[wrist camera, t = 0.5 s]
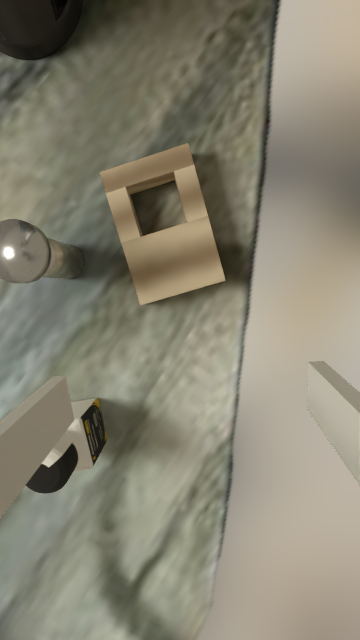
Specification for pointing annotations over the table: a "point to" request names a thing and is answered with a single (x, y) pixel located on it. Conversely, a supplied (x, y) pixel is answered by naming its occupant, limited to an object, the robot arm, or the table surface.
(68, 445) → the medicine bottle
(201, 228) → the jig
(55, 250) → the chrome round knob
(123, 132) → the table surface
